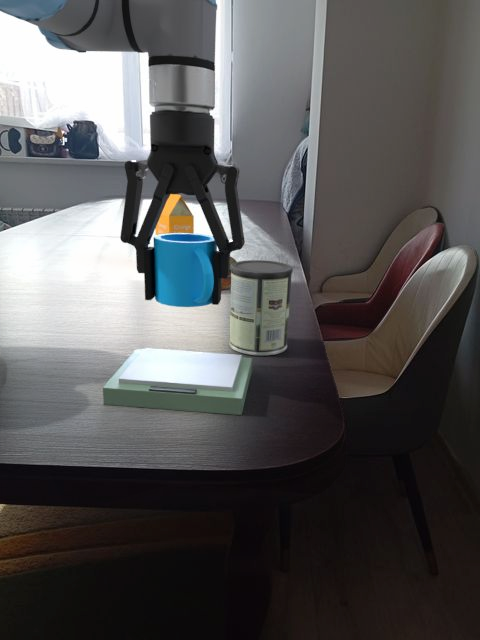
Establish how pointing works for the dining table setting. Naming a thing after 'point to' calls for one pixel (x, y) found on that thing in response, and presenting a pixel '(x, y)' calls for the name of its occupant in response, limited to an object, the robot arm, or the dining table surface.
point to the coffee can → (259, 307)
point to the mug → (184, 269)
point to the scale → (181, 381)
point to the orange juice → (175, 217)
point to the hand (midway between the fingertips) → (183, 299)
